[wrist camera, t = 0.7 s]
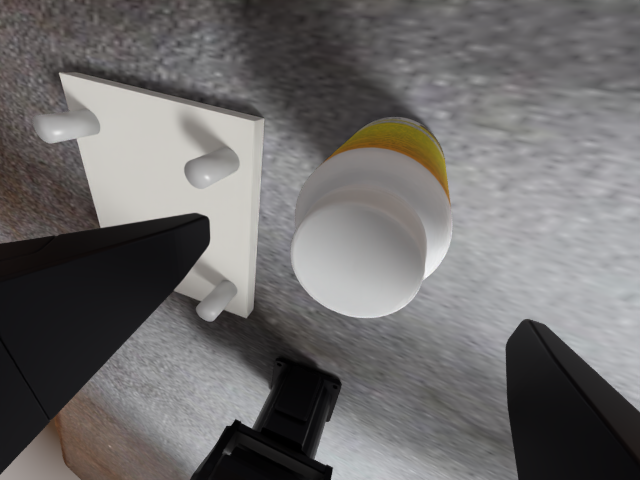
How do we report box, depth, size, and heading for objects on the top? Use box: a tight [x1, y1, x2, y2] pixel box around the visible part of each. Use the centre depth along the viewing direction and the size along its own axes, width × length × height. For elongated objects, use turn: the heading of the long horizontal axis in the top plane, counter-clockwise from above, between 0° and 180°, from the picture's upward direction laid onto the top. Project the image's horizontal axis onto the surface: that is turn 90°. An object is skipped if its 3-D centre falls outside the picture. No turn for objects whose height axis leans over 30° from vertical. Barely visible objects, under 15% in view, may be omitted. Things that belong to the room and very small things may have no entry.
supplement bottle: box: [290, 117, 453, 318], centre depth 13 cm, size 6×6×10 cm
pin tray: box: [33, 72, 264, 322], centre depth 22 cm, size 16×14×4 cm
